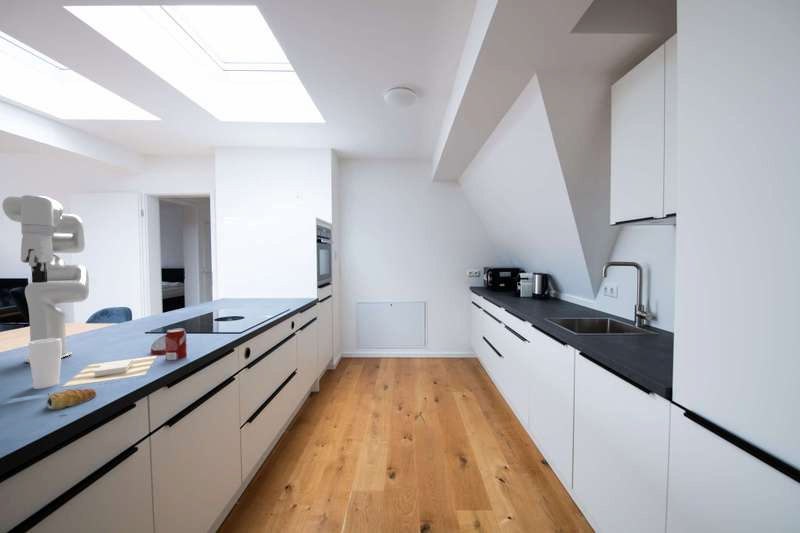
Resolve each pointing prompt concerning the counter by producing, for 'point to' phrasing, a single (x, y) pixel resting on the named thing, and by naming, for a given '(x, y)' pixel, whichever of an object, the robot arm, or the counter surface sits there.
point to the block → (114, 367)
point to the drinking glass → (45, 362)
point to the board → (88, 374)
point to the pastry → (69, 398)
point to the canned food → (159, 346)
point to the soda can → (175, 344)
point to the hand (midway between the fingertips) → (39, 282)
